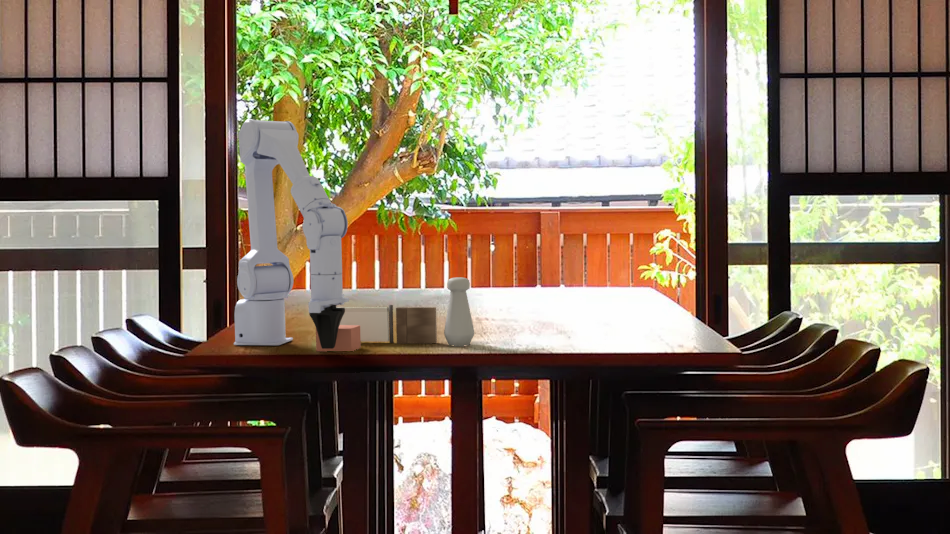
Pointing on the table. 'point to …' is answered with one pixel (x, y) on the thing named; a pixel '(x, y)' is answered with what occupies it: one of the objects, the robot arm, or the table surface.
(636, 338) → the table surface
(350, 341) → the block
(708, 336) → the table surface
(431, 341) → the frame
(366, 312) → the door
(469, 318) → the salt shaker
